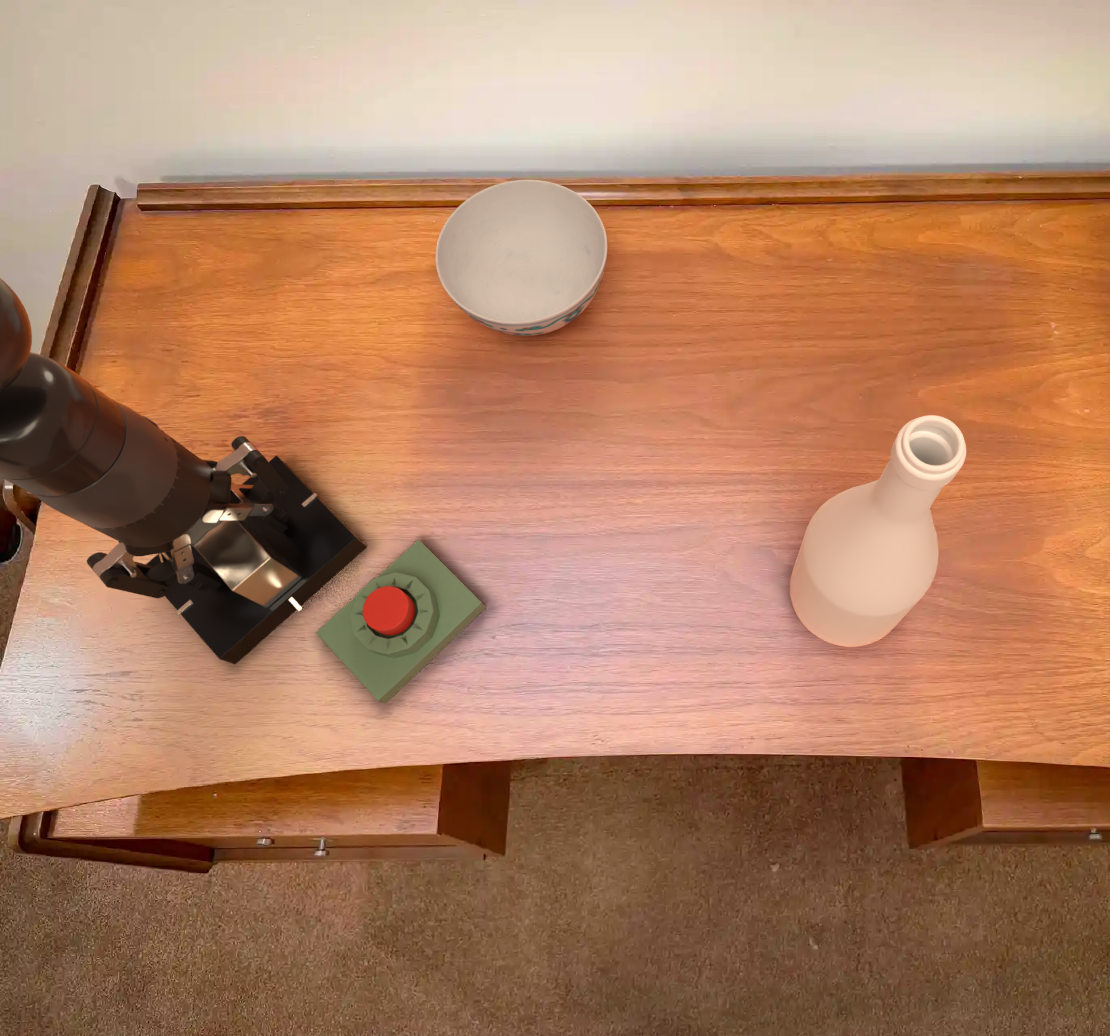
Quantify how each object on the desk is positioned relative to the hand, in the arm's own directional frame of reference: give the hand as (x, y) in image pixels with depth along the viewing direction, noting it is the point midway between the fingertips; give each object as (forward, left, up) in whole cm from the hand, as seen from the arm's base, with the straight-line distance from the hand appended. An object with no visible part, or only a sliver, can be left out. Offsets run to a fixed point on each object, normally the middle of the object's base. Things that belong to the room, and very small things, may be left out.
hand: (246, 550), depth 72 cm
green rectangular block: (+5, -13, -3) cm, 14 cm away
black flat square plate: (0, 0, -3) cm, 3 cm away
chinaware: (+34, +2, -3) cm, 34 cm away
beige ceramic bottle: (+32, -38, -3) cm, 50 cm away
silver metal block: (0, 0, 0) cm, 0 cm away
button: (+5, -13, 0) cm, 14 cm away
